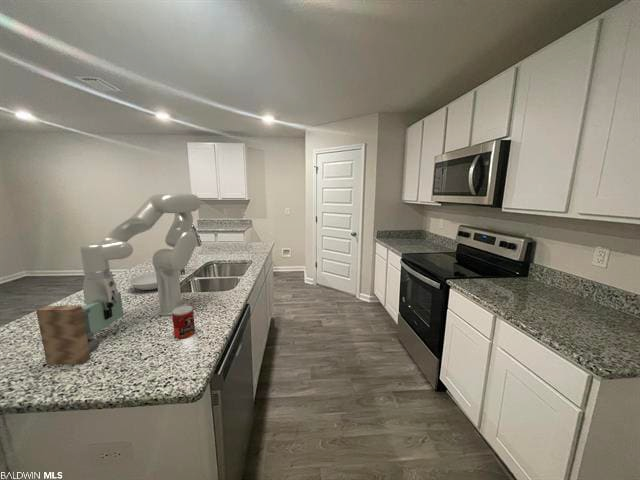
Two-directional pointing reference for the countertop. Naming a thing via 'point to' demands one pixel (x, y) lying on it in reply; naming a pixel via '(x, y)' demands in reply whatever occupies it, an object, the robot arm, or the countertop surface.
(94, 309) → the door
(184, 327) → the canned food
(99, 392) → the countertop surface
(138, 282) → the soup bowl
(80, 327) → the cabinet side
